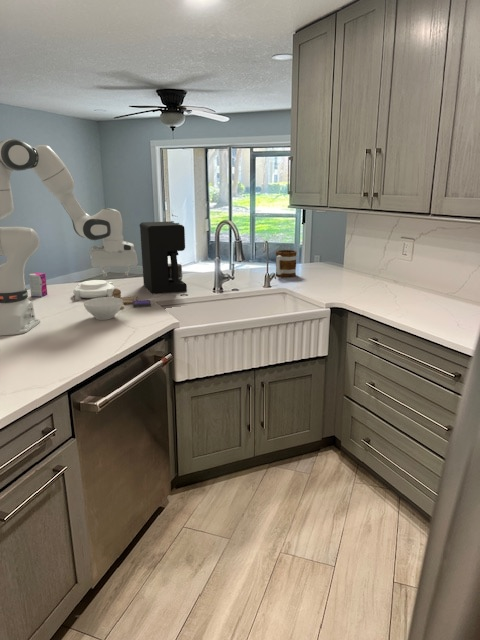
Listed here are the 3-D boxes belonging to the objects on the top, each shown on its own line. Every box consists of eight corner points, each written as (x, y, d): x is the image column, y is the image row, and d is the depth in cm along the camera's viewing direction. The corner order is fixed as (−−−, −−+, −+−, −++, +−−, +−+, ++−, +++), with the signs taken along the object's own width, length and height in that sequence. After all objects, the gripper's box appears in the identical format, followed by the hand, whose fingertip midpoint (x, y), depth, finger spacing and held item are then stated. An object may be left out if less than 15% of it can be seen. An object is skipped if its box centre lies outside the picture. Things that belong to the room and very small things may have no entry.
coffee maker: (190, 292, 239) (187, 224, 229) (153, 296, 233) (149, 226, 223) (177, 282, 264) (174, 220, 254) (143, 285, 258) (139, 221, 248)
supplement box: (41, 297, 230) (38, 275, 227) (30, 297, 231) (27, 274, 228) (48, 294, 236) (45, 272, 232) (37, 294, 237) (35, 272, 234)
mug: (280, 272, 293) (280, 249, 288) (300, 274, 286) (300, 250, 282) (266, 278, 276) (267, 253, 272) (287, 280, 270) (288, 254, 266)
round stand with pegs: (60, 297, 231) (58, 284, 229) (97, 288, 251) (95, 276, 248) (93, 304, 219) (91, 289, 217) (129, 294, 239) (128, 280, 236)
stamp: (123, 308, 209) (121, 289, 206) (112, 309, 208) (110, 290, 205) (123, 306, 214) (122, 287, 211) (112, 306, 213) (111, 287, 210)
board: (137, 303, 217) (137, 301, 217) (111, 305, 215) (111, 303, 215) (137, 298, 229) (137, 295, 228) (113, 299, 226) (112, 297, 226)
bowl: (84, 314, 200) (82, 299, 198) (121, 311, 206) (120, 295, 204) (86, 324, 186) (84, 307, 184) (126, 320, 191) (124, 304, 189)
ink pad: (151, 306, 213) (150, 303, 213) (133, 307, 211) (133, 304, 211) (150, 302, 220) (150, 299, 220) (133, 303, 219) (133, 300, 218)
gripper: (88, 247, 197) (91, 278, 202) (137, 246, 201) (138, 277, 206) (89, 244, 203) (92, 275, 207) (137, 244, 207) (138, 273, 212)
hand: (116, 276), depth 207 cm, fingers open, 8 cm apart
